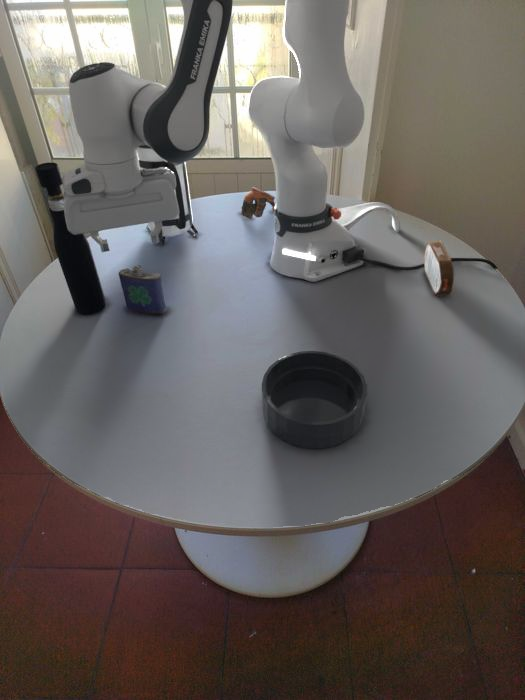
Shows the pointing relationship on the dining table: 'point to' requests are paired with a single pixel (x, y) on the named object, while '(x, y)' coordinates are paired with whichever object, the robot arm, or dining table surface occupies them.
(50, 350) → the dining table surface
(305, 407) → the black screw cap
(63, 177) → the robot arm
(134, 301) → the flask
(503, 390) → the dining table surface
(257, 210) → the orange brown figure
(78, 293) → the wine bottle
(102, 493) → the dining table surface
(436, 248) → the tin
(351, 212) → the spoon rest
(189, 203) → the coffee press
